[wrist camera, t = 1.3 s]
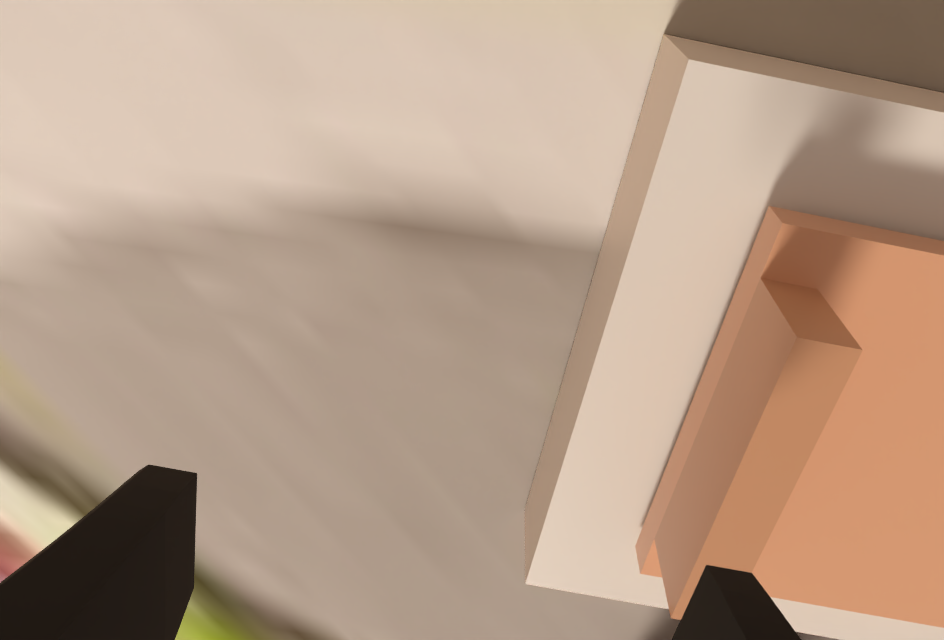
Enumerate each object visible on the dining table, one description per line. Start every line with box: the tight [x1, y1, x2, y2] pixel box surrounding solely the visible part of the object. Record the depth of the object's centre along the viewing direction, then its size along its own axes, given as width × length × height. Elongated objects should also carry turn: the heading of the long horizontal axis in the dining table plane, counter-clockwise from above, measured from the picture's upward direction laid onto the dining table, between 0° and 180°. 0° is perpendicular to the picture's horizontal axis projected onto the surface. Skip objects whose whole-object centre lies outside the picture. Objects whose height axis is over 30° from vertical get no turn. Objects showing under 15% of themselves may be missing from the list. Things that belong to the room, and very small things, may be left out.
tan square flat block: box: [635, 206, 944, 628], centre depth 14 cm, size 8×8×3 cm
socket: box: [525, 34, 944, 640], centre depth 17 cm, size 12×12×2 cm
